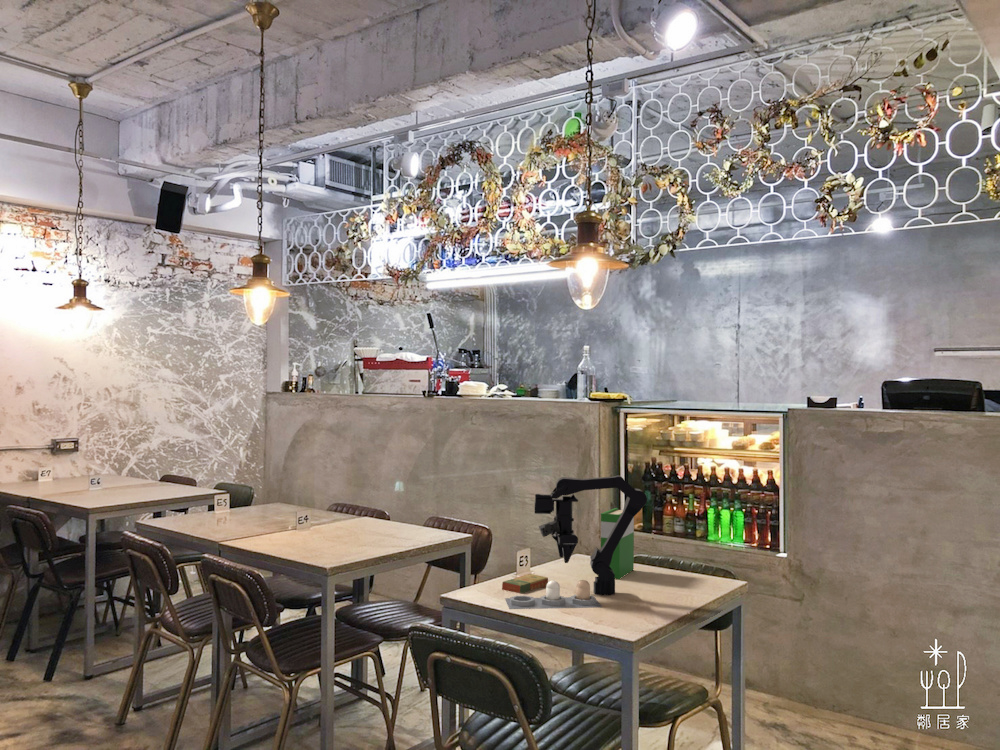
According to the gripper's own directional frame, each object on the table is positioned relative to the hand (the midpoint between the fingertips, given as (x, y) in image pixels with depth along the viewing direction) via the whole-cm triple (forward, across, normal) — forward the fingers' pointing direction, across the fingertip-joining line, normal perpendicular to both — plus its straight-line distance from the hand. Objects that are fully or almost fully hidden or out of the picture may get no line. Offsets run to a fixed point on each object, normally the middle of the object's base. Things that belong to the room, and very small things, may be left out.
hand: (563, 560), depth 267 cm
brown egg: (+11, +13, +4) cm, 18 cm away
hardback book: (+12, -31, +27) cm, 43 cm away
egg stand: (+12, +13, -6) cm, 19 cm away
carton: (+13, -8, -12) cm, 19 cm away
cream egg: (+11, +13, -6) cm, 18 cm away
